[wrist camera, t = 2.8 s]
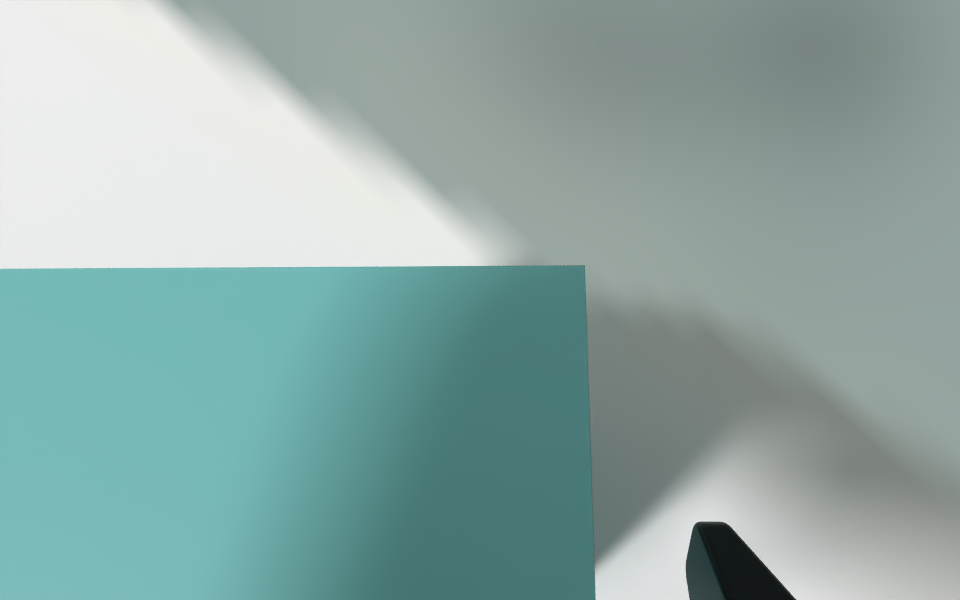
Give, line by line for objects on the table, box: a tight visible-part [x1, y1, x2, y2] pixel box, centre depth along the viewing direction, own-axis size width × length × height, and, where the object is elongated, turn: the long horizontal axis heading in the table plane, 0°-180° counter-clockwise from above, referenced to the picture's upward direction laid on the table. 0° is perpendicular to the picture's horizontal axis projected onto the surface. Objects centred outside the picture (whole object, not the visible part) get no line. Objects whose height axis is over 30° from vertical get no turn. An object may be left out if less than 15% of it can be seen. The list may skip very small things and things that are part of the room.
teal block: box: [0, 266, 595, 600], centre depth 11 cm, size 5×5×13 cm
